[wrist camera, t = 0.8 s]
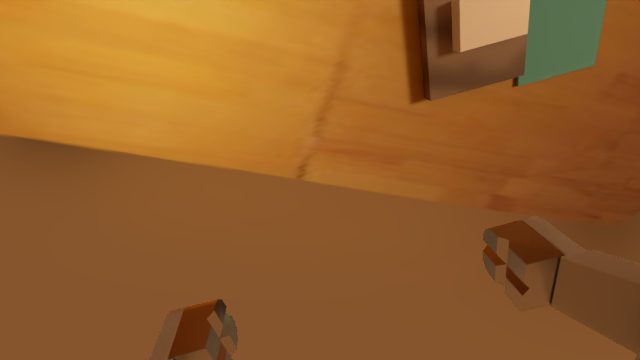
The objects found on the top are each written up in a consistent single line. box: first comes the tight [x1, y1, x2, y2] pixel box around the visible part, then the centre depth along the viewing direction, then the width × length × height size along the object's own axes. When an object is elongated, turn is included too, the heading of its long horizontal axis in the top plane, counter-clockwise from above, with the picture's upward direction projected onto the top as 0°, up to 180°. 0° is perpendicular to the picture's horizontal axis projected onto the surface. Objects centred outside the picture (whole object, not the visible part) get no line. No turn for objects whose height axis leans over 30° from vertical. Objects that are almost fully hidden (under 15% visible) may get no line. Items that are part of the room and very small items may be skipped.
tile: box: [451, 0, 530, 52], centre depth 39 cm, size 6×9×2 cm, turn 104°
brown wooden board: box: [417, 0, 527, 101], centre depth 41 cm, size 18×14×2 cm
